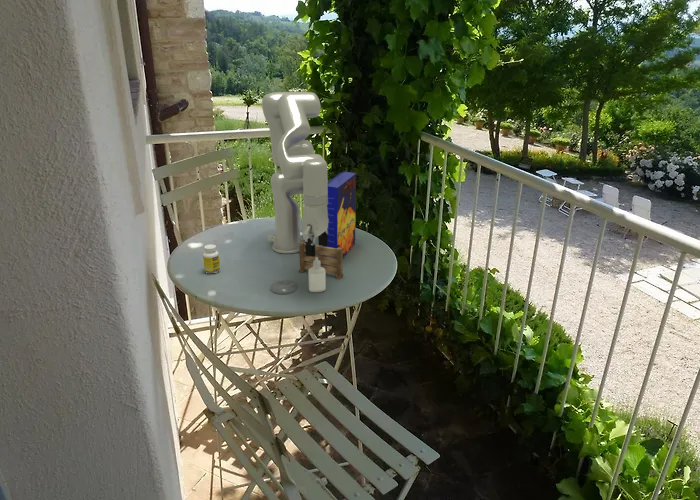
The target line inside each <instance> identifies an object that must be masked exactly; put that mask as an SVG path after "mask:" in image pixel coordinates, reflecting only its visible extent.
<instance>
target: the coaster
mask: <svg viewBox="0 0 700 500" xmlns="http://www.w3.org/2000/svg"><path fill="white" fill-rule="evenodd" d="M269 289H270V292H272V293H273V294H276V295H289V294H292V293H295V292H296V291H297V290H298V284H297V283H296V282H295V281H291V280H279V281H278V280H277V281H275V282H272V284H271V285H270V288H269Z"/></svg>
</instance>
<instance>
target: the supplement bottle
mask: <svg viewBox="0 0 700 500" xmlns="http://www.w3.org/2000/svg"><path fill="white" fill-rule="evenodd" d="M219 254H220V253H219V251H217V245H215V244H206V245H204V252H203V254H202V257H203V267H204V273H205V272H207V273H216V272H218V271H219V272H220V271H221V264H220V255H219ZM219 272H218V273H219ZM207 273H206V274H207ZM216 274H217V273H216Z"/></svg>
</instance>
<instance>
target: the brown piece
mask: <svg viewBox="0 0 700 500" xmlns="http://www.w3.org/2000/svg"><path fill="white" fill-rule="evenodd" d="M300 241H301V240H300ZM298 253H299V270H298V271H299V272H298V273H304V272H305V271H309V269H310V268H312V267H313V261H314V260H315V258H316V257H318V260H320V263H321V267H323V268H325V272H326V274H330V275H336V276H335V279H337V280H341V279H342V277H343V276H344V273H343V270H344V269H343V268H344V267H343V266H344V265H343V264H344V263H343V261H344V258H343V248H339V247H338V248H331V247H324V246H320V245H319V244H318V245H317V244H315V257H311V256H306V252H305V242H304V241H301V242H300V243H299V252H298ZM325 255H327V256H325ZM331 256H333V257H331Z"/></svg>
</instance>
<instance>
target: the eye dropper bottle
mask: <svg viewBox="0 0 700 500" xmlns="http://www.w3.org/2000/svg"><path fill="white" fill-rule="evenodd" d="M321 264H322V263H320V260H318V257H316V258H315V260H314V261H313V267H312V268H310V269H309V270H307V271H308V275H307V277H308V291H309V292H310V293H321V292H326V289H327V286H326V285H327V283H326V282H327V281H326V280H327V279H326V278H327V276H326V274H327V273H326V272H325V268H323V267H321Z"/></svg>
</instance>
